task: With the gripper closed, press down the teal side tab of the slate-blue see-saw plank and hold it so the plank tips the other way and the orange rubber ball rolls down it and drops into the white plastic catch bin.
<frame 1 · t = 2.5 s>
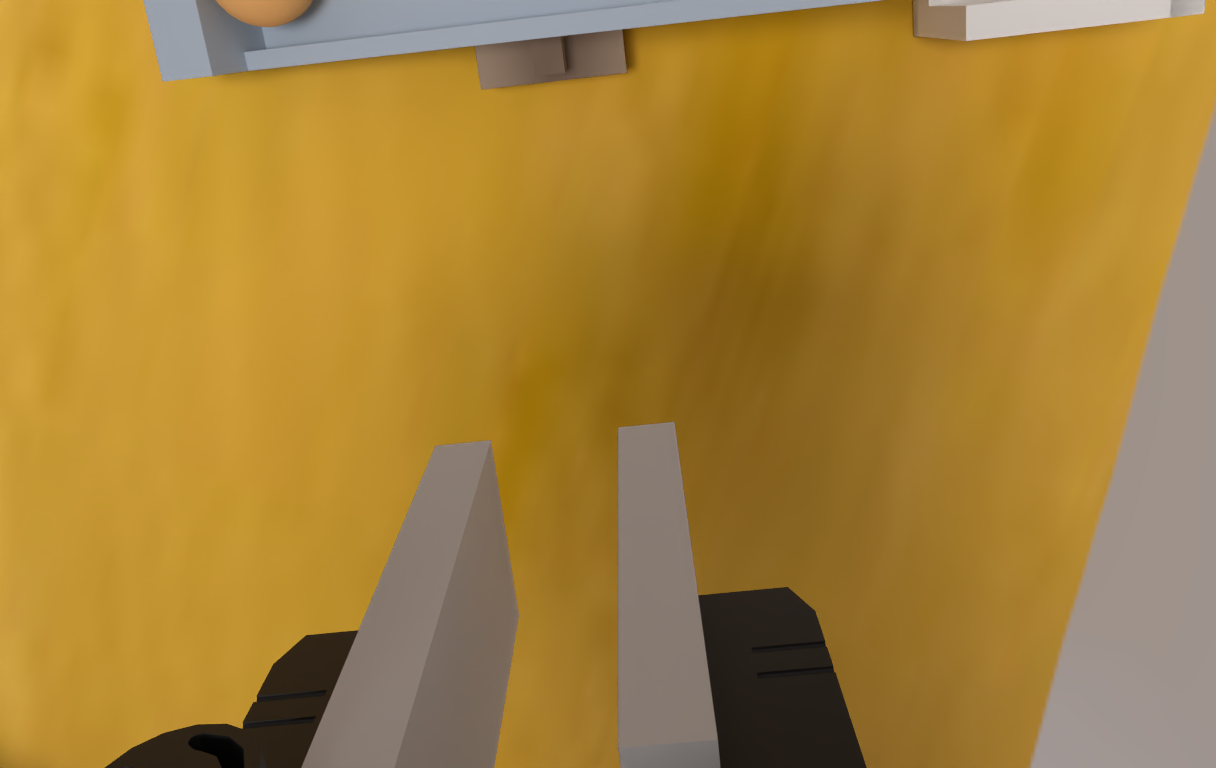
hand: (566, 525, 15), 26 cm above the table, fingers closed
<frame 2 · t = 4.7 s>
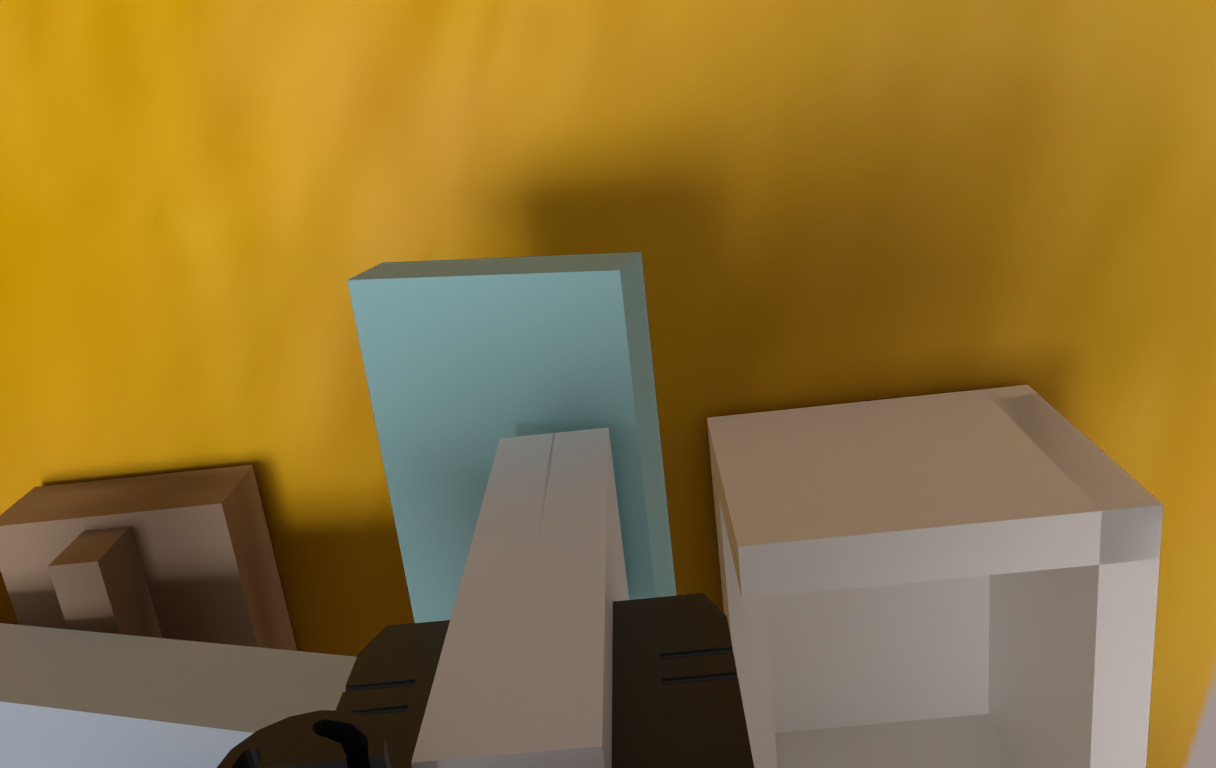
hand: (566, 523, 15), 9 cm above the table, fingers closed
bin: (872, 581, 25), on the table
fulcrum: (191, 647, 25), on the table
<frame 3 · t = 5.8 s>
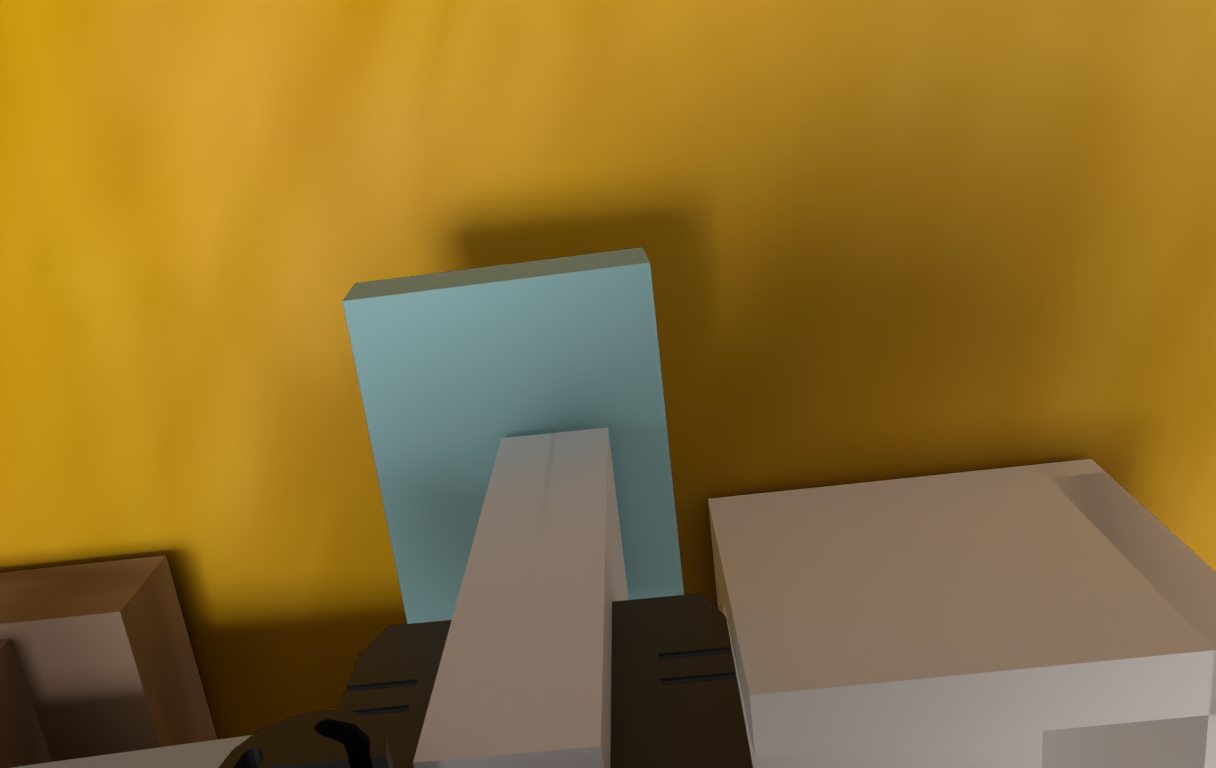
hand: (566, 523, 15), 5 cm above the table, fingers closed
bin: (903, 686, 21), on the table
fulcrum: (100, 765, 21), on the table
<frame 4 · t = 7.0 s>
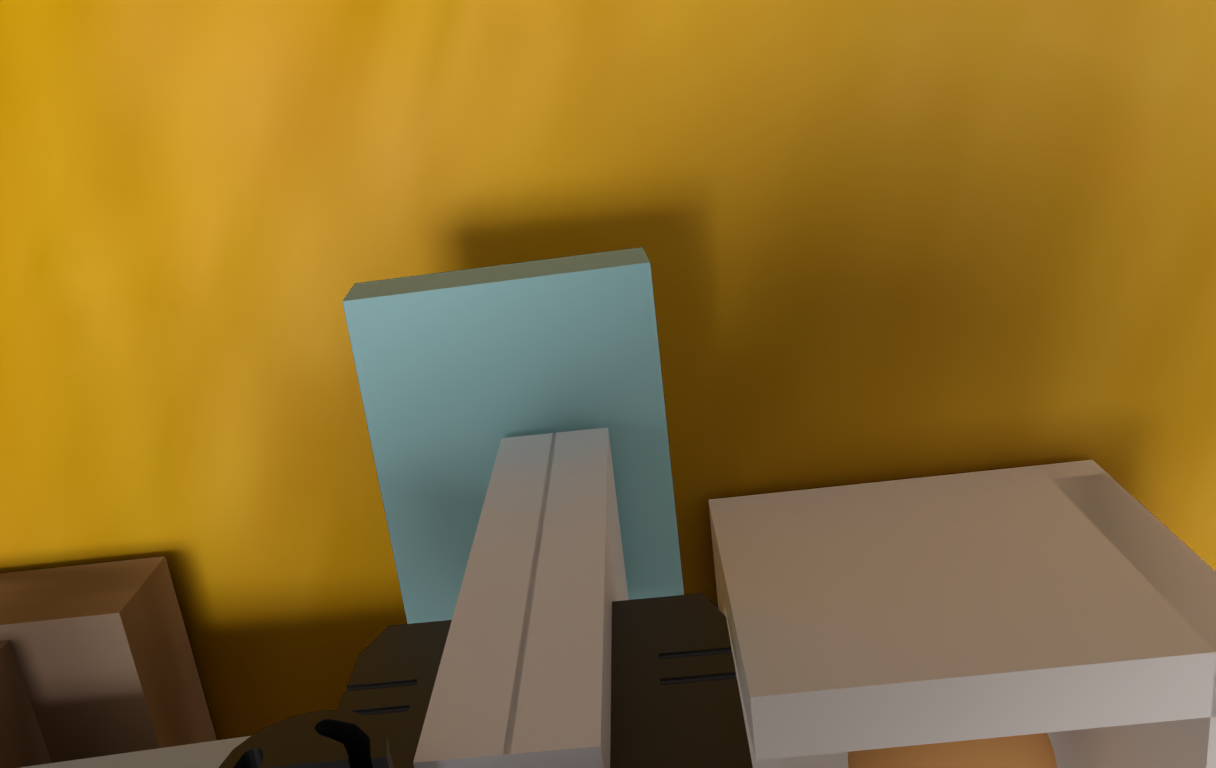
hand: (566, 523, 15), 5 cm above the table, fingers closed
bin: (904, 687, 21), on the table
fulcrum: (99, 766, 21), on the table
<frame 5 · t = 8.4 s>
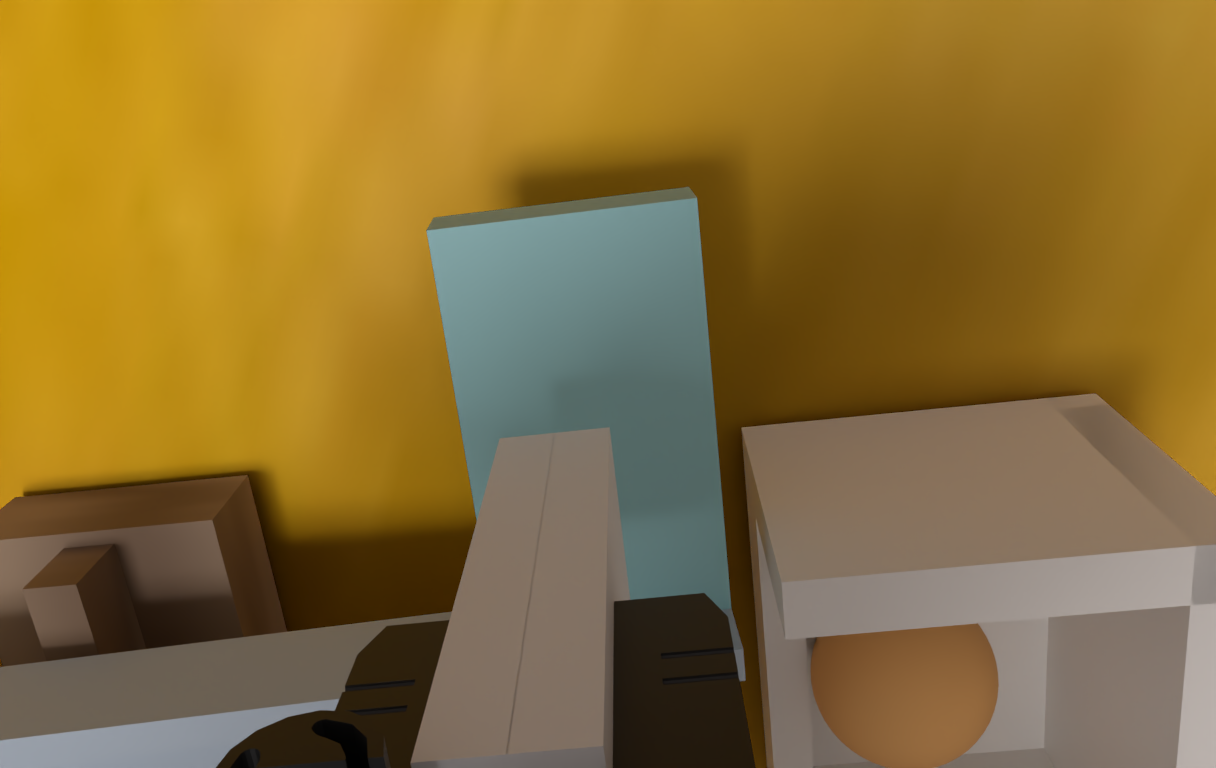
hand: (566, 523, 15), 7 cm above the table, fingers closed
bin: (919, 605, 23), on the table
ball: (811, 664, 21), point 2 cm above the table, tilted 71°, touching bin
fulcrum: (184, 668, 24), on the table
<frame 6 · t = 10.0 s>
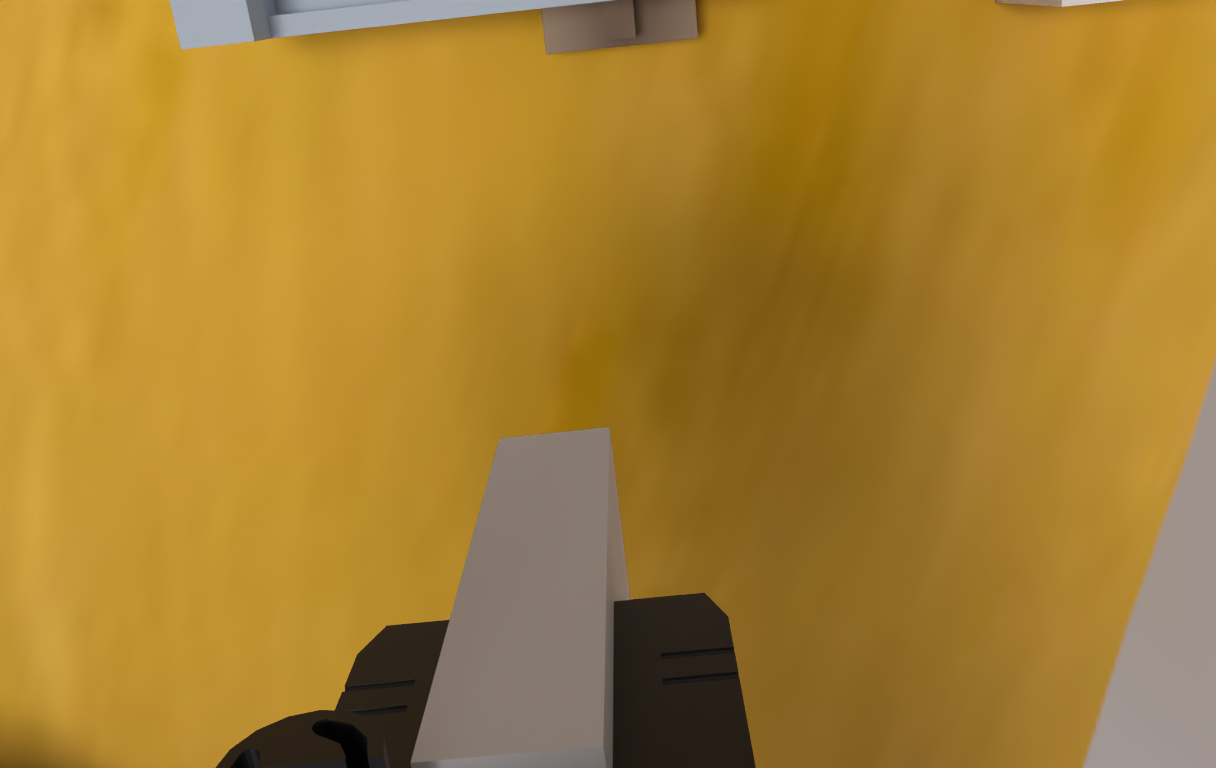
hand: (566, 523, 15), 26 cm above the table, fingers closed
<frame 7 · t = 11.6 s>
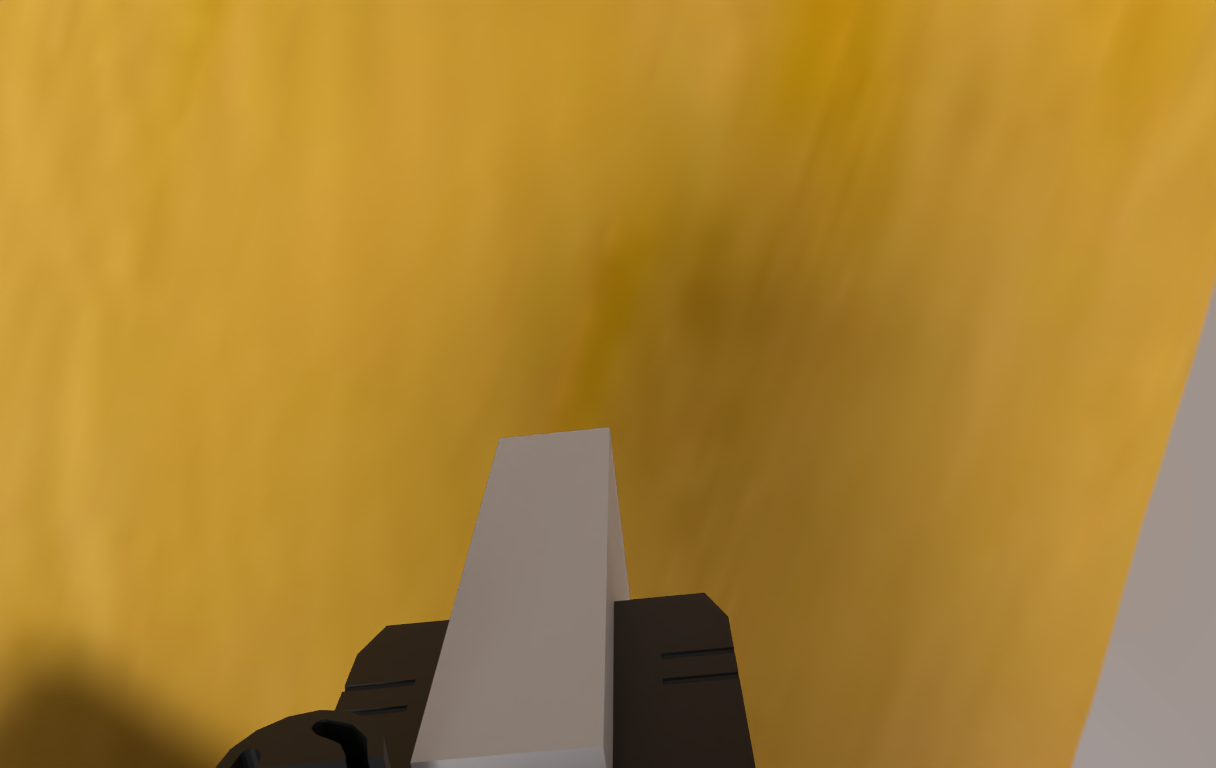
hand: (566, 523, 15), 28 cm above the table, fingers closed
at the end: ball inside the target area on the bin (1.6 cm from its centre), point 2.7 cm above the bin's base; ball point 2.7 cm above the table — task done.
